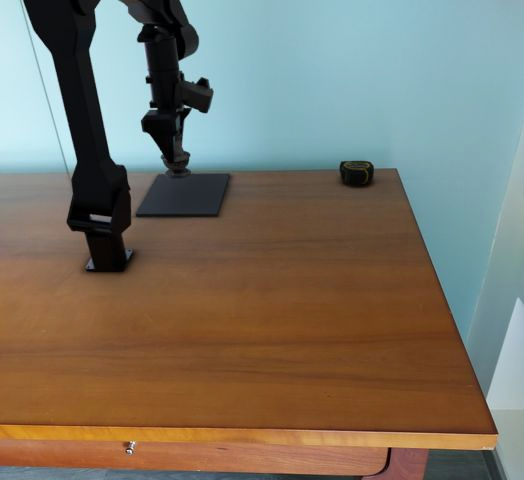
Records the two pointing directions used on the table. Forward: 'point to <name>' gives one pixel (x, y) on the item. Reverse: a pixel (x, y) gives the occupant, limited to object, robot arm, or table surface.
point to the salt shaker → (177, 161)
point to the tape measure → (356, 172)
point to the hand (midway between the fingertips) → (175, 155)
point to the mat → (185, 196)
